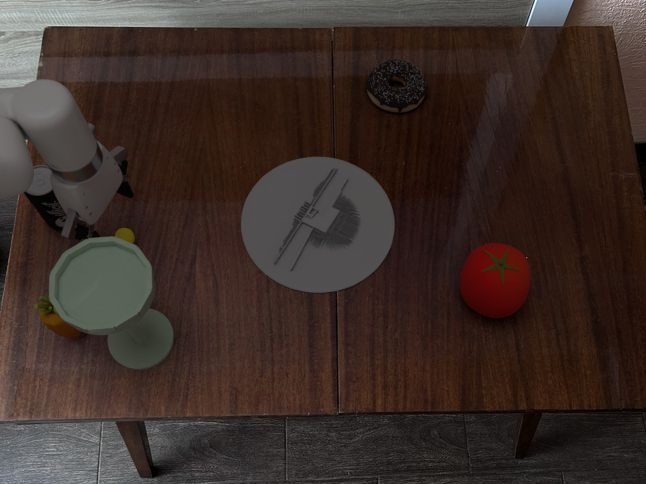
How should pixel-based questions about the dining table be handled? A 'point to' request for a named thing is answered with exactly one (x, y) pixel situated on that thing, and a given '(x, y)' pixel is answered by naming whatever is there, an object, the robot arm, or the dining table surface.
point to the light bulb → (125, 235)
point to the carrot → (54, 319)
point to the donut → (396, 97)
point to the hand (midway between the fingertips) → (110, 217)
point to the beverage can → (45, 198)
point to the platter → (102, 285)
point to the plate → (317, 224)
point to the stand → (143, 342)
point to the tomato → (495, 280)
